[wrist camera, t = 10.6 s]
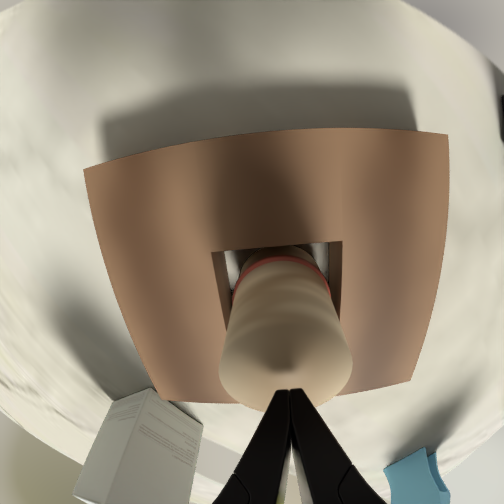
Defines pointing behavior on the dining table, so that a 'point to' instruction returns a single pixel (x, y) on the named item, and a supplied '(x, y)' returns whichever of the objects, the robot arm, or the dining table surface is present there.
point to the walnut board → (274, 242)
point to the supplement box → (141, 454)
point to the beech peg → (283, 331)
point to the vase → (417, 480)
